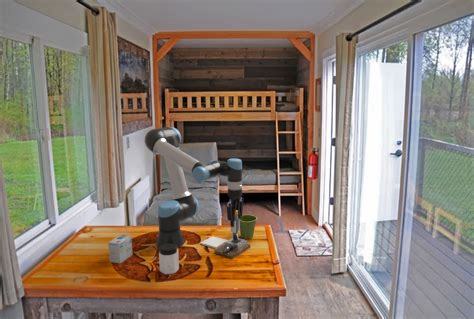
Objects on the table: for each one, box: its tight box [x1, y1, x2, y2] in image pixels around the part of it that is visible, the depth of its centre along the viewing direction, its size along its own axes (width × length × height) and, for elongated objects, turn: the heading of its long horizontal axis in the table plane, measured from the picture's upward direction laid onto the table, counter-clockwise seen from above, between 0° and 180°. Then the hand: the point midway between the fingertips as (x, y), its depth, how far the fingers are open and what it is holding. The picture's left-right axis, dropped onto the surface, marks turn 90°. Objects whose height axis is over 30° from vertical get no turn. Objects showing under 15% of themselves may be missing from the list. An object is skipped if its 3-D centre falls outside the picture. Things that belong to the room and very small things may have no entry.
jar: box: [158, 243, 180, 275], centre depth 179 cm, size 9×8×12 cm
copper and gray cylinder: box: [232, 209, 239, 240], centre depth 201 cm, size 3×3×16 cm
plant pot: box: [239, 214, 258, 239], centre depth 219 cm, size 12×12×11 cm
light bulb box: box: [107, 234, 133, 264], centre depth 193 cm, size 11×7×11 cm, turn 160°
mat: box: [199, 236, 229, 250], centre depth 211 cm, size 11×11×1 cm
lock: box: [214, 237, 251, 259], centre depth 201 cm, size 12×16×4 cm
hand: (235, 230), depth 202 cm, fingers closed on copper and gray cylinder, 3 cm apart
